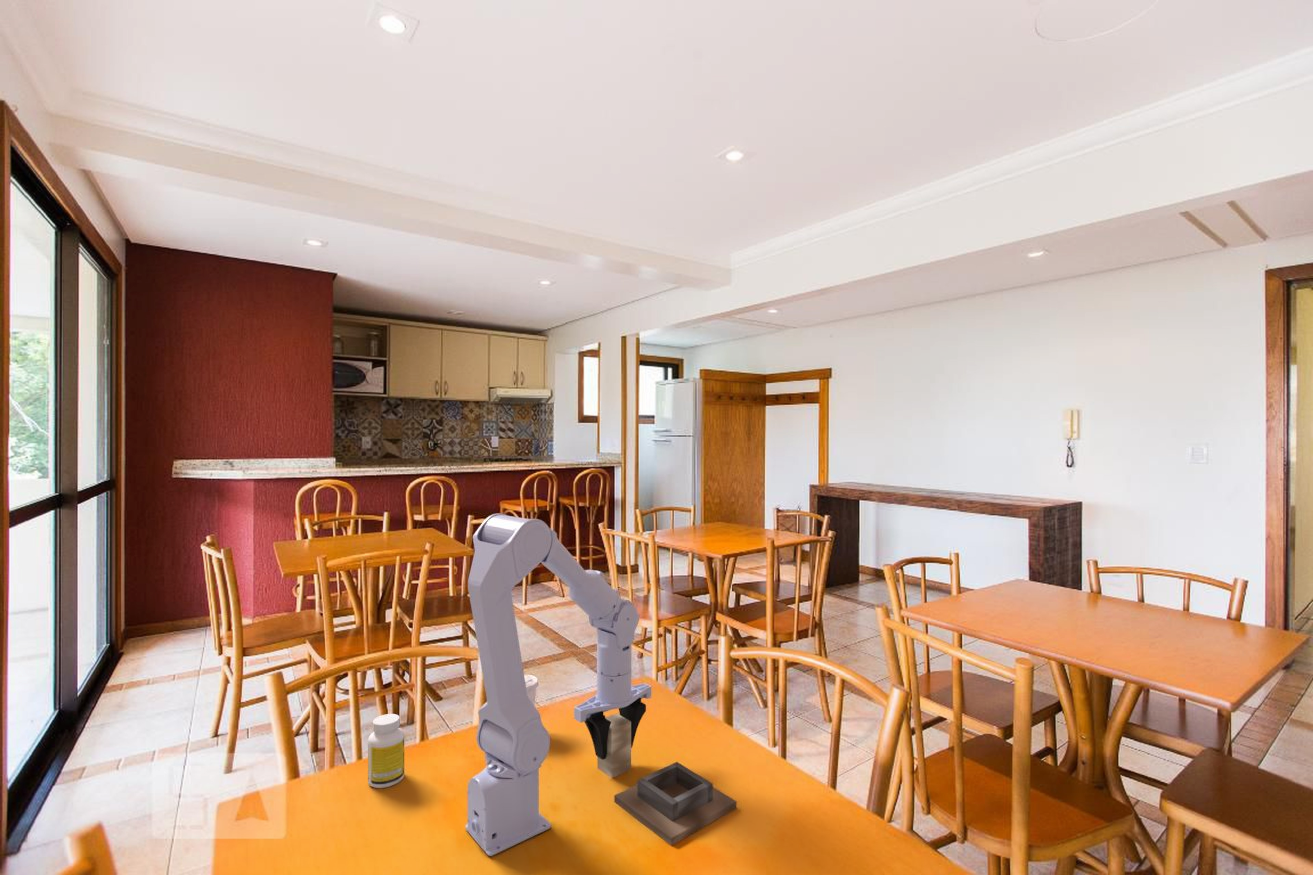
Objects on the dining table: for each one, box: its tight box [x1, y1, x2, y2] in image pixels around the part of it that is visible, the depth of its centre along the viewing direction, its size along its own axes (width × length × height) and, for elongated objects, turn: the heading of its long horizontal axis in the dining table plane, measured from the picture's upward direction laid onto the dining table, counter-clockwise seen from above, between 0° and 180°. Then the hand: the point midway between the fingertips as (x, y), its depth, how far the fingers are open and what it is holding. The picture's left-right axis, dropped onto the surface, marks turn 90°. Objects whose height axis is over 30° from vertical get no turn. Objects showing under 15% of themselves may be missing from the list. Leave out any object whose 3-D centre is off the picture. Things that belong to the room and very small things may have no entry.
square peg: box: [596, 712, 632, 779], centre depth 104 cm, size 4×4×8 cm
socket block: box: [613, 761, 738, 846], centre depth 94 cm, size 13×13×4 cm
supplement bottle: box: [367, 713, 405, 789], centre depth 100 cm, size 5×5×10 cm
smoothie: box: [524, 674, 539, 706], centre depth 116 cm, size 6×6×14 cm
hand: (614, 750), depth 104 cm, fingers open, 5 cm apart
